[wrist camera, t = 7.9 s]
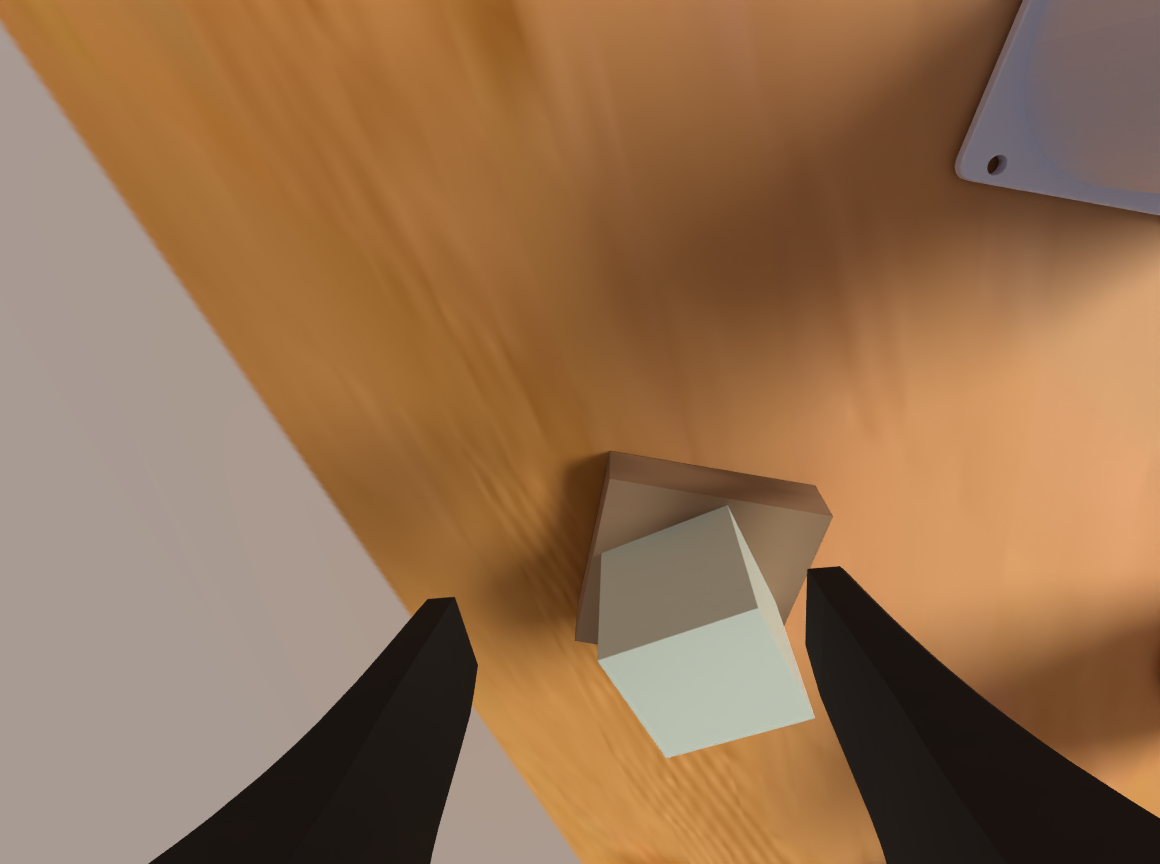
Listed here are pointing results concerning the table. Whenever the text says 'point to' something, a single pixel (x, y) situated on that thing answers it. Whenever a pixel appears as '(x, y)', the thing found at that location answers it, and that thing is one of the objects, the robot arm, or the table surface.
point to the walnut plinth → (681, 492)
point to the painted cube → (697, 637)
